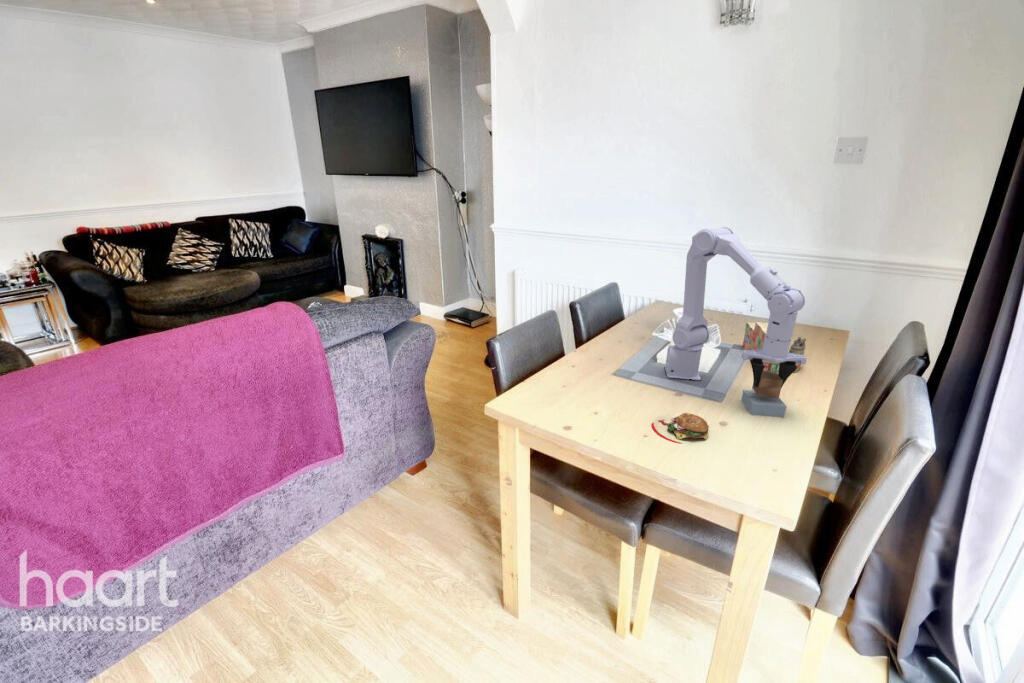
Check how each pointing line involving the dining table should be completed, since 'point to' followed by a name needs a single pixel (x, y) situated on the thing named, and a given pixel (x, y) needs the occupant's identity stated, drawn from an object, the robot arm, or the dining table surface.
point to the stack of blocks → (758, 343)
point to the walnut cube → (769, 385)
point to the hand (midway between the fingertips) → (766, 386)
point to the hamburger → (686, 427)
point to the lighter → (798, 349)
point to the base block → (763, 404)
